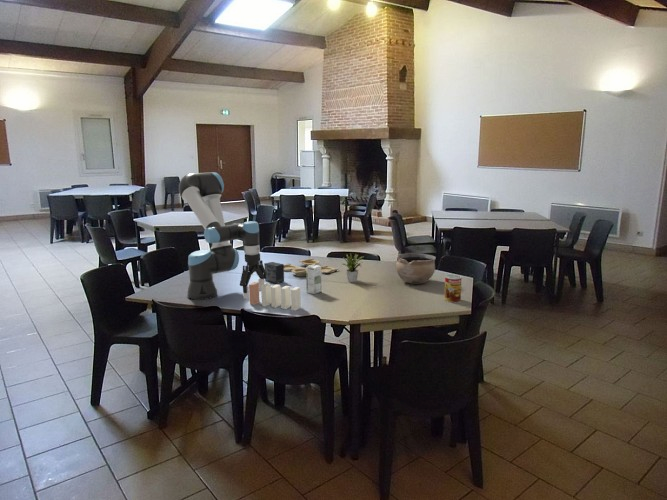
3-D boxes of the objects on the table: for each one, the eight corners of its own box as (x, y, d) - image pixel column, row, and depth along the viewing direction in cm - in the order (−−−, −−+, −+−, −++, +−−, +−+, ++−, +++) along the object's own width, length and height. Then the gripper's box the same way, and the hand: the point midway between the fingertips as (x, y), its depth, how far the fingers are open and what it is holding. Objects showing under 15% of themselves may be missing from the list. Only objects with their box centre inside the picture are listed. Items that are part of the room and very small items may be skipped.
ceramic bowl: (387, 282, 280) (387, 256, 276) (409, 275, 295) (410, 250, 292) (421, 290, 265) (421, 262, 262) (442, 281, 280) (443, 255, 277)
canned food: (450, 303, 242) (451, 279, 240) (441, 299, 249) (441, 275, 247) (463, 301, 245) (464, 277, 243) (454, 296, 252) (454, 274, 250)
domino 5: (291, 309, 236) (290, 289, 234) (296, 306, 241) (295, 286, 238) (295, 310, 235) (295, 290, 233) (300, 307, 240) (300, 287, 238)
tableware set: (342, 272, 304) (341, 266, 304) (300, 280, 288) (300, 273, 288) (311, 262, 333) (311, 256, 332) (272, 268, 317) (272, 262, 316)
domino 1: (249, 304, 246) (248, 284, 244) (255, 301, 250) (254, 281, 248) (254, 304, 245) (253, 285, 243) (259, 301, 249) (258, 282, 247)
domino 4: (281, 308, 238) (280, 288, 236) (286, 305, 243) (285, 285, 241) (285, 309, 237) (285, 288, 235) (290, 305, 242) (290, 286, 240)
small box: (285, 281, 285) (284, 263, 283) (276, 284, 280) (275, 266, 278) (273, 278, 292) (272, 261, 290) (264, 280, 287) (263, 263, 285)
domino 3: (271, 307, 241) (270, 287, 239) (276, 304, 245) (276, 284, 243) (275, 307, 240) (275, 287, 238) (281, 304, 244) (280, 285, 242)
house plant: (363, 285, 275) (363, 256, 271) (338, 284, 277) (338, 255, 274) (366, 278, 288) (366, 251, 285) (343, 277, 291) (342, 250, 288)
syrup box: (313, 290, 267) (313, 263, 264) (321, 292, 264) (321, 265, 261) (306, 292, 263) (305, 266, 260) (314, 294, 259) (314, 267, 256)
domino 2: (261, 305, 243) (261, 285, 241) (267, 302, 247) (266, 283, 245) (266, 306, 242) (265, 286, 240) (271, 303, 246) (270, 283, 244)
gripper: (243, 259, 230) (246, 303, 234) (272, 248, 252) (274, 289, 256) (230, 258, 233) (233, 301, 237) (259, 247, 255) (261, 287, 259)
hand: (254, 295), depth 247 cm, fingers open, 13 cm apart
